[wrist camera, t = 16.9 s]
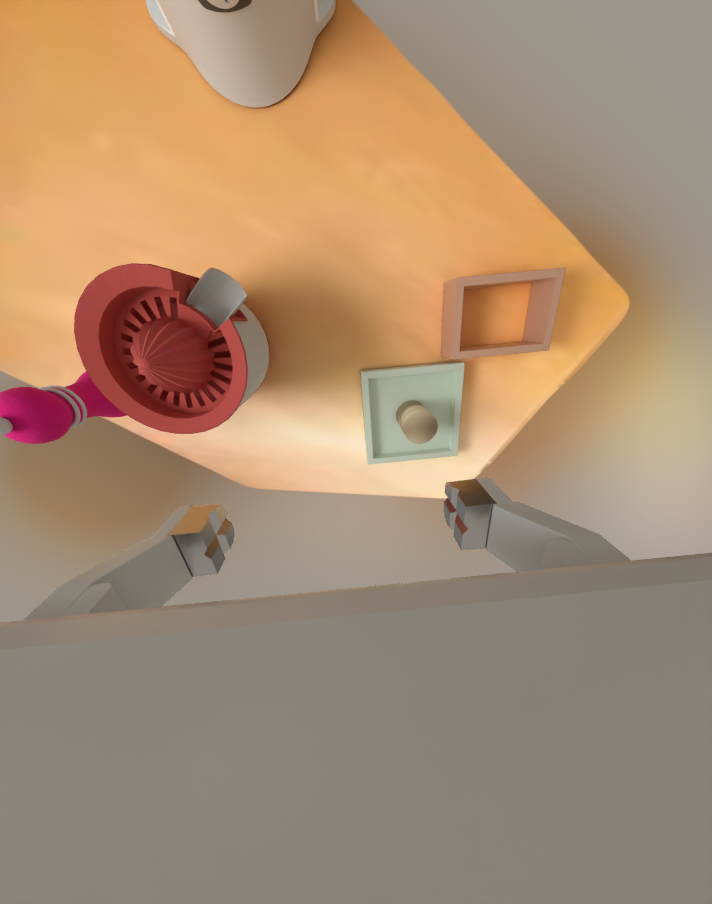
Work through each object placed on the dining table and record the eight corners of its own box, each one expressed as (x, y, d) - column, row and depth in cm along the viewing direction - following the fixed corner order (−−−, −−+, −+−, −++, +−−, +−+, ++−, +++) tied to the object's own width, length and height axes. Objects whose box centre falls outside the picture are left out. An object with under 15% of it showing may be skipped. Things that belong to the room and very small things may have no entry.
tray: (360, 370, 44) (361, 372, 42) (458, 360, 44) (464, 362, 42) (366, 458, 51) (368, 464, 49) (452, 450, 51) (457, 455, 49)
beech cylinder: (395, 401, 46) (404, 413, 39) (425, 398, 46) (438, 410, 39) (396, 429, 48) (404, 445, 42) (424, 427, 48) (436, 442, 42)
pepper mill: (123, 351, 41) (-47, 373, 23) (167, 385, 44) (45, 429, 26) (101, 385, 43) (-72, 429, 25) (144, 416, 46) (15, 477, 28)
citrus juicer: (308, 331, 41) (282, 337, 23) (246, 415, 47) (186, 474, 28) (213, 247, 37) (87, 173, 18) (156, 351, 42) (14, 374, 24)
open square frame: (443, 283, 39) (456, 277, 35) (540, 273, 40) (565, 267, 35) (440, 355, 44) (451, 359, 39) (527, 347, 44) (548, 350, 39)
